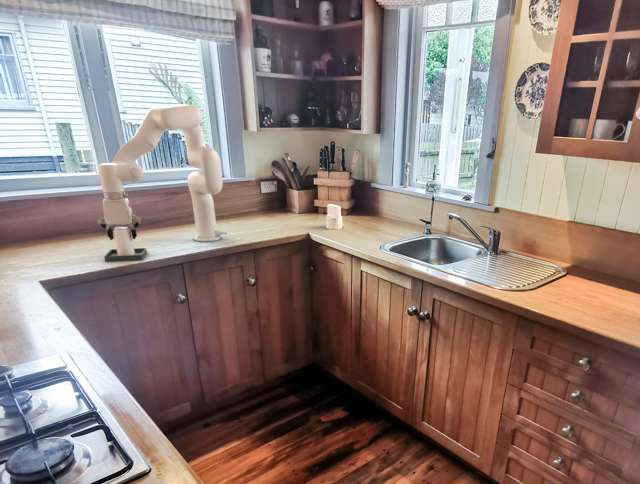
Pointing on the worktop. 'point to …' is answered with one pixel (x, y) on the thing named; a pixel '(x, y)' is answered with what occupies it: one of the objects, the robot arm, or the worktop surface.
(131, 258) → the tray
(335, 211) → the cylinder with rectangular tab
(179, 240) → the worktop surface
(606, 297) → the worktop surface
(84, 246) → the worktop surface
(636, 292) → the worktop surface
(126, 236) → the can
